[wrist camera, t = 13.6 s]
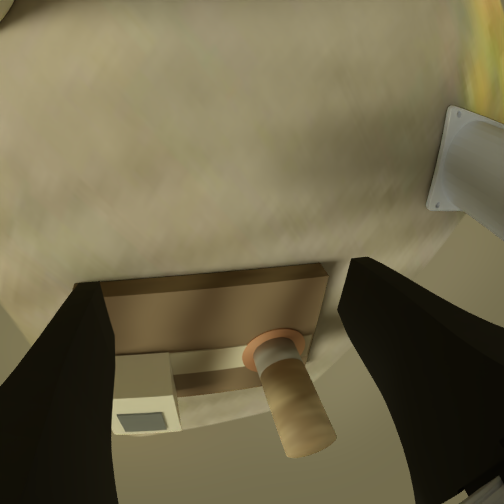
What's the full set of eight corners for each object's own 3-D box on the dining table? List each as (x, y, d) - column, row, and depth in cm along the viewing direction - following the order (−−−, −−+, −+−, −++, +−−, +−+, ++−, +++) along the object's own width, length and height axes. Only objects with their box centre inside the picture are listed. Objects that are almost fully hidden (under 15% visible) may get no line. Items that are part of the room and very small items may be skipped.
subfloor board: (319, 262, 22) (329, 277, 20) (295, 365, 28) (301, 379, 26) (74, 283, 18) (69, 301, 17) (112, 386, 24) (112, 402, 22)
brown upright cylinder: (293, 331, 22) (338, 427, 16) (296, 357, 24) (335, 445, 18) (249, 345, 22) (284, 446, 15) (256, 370, 24) (288, 462, 17)
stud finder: (168, 352, 20) (173, 397, 17) (176, 392, 23) (182, 432, 20) (97, 356, 19) (93, 401, 16) (114, 396, 22) (114, 436, 19)
